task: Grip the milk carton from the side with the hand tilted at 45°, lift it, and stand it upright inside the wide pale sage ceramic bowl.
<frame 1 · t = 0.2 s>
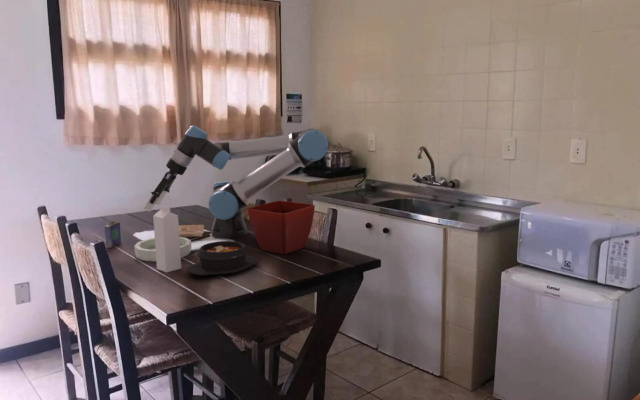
hand: (151, 206, 209), 16 cm above the table, tool tilted 35°, fingers open, 13 cm apart
milk: (169, 269, 182), on the table
bowl: (163, 253, 200), on the table
flask: (113, 245, 212), on the table
casserole: (223, 270, 180), on the table
plant pot: (282, 249, 205), on the table
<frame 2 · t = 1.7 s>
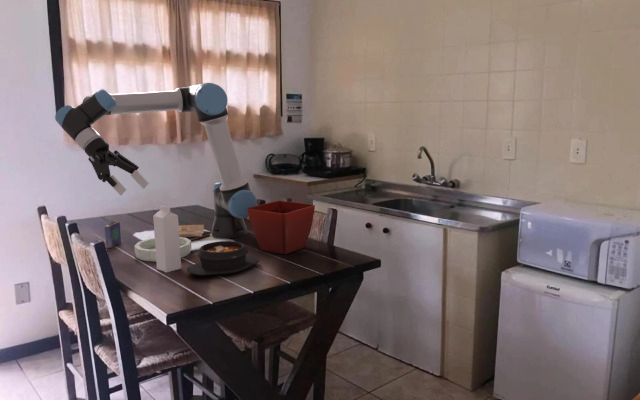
hand: (135, 189, 179), 28 cm above the table, tool tilted 45°, fingers open, 13 cm apart
nothing on the table moved.
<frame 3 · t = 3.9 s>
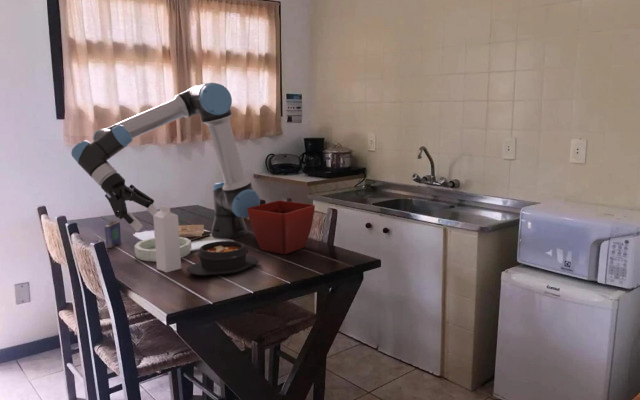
hand: (151, 224, 179), 16 cm above the table, tool tilted 45°, fingers open, 13 cm apart
nothing on the table moved.
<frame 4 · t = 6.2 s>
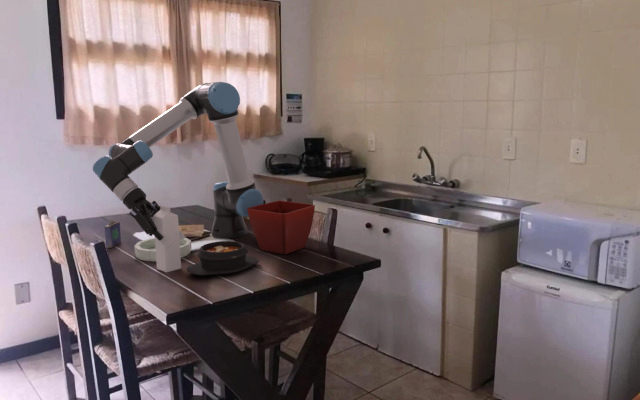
hand: (176, 242, 179), 10 cm above the table, tool tilted 45°, fingers closed on milk, 8 cm apart
milk: (169, 269, 182), on the table, touching gripper
everything else where it was.
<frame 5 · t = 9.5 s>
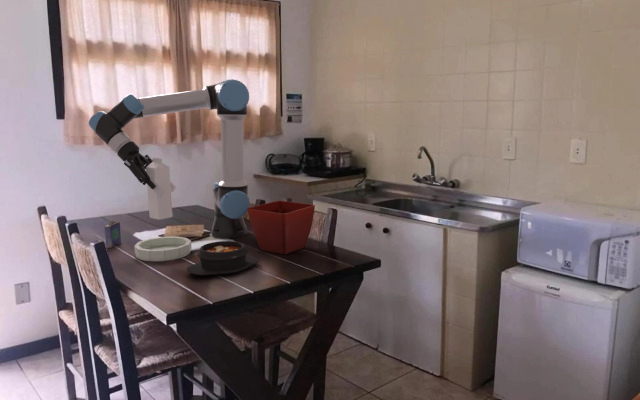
hand: (168, 191, 192), 24 cm above the table, tool tilted 45°, fingers closed on milk, 8 cm apart
milk: (161, 217, 195), point 14 cm above the table, touching gripper
everything else where it was.
when the fingers open (12 cm above the table, at t = 13.2 s): milk drops 1 cm, resting on bowl.
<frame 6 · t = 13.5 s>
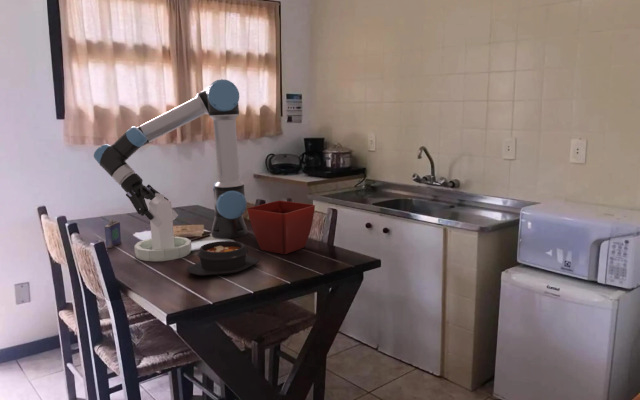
hand: (168, 221, 197), 13 cm above the table, tool tilted 45°, fingers open, 11 cm apart
milk: (163, 251, 200), point 1 cm above the table, touching bowl
everything else where it was.
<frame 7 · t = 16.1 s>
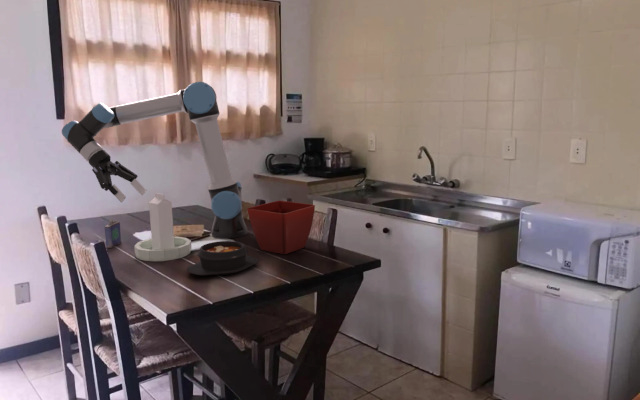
hand: (134, 196, 198), 22 cm above the table, tool tilted 45°, fingers open, 13 cm apart
nothing on the table moved.
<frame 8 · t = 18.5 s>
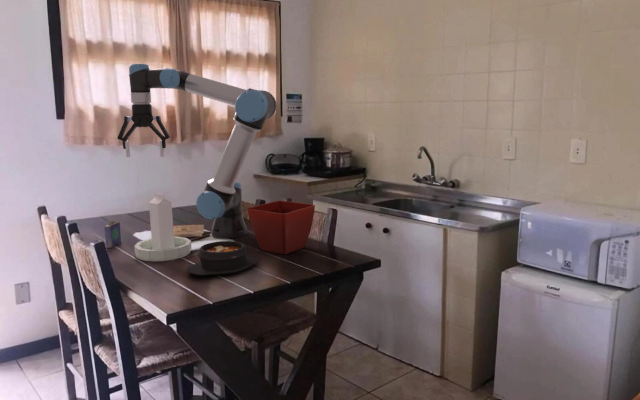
hand: (145, 156, 214), 35 cm above the table, tool pointing down, fingers open, 13 cm apart
nothing on the table moved.
at the end: milk inside the target area on the bowl (0.3 cm from its centre), point 0.8 cm above the bowl's base; milk tilted 0°; the gripper is holding nothing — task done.
